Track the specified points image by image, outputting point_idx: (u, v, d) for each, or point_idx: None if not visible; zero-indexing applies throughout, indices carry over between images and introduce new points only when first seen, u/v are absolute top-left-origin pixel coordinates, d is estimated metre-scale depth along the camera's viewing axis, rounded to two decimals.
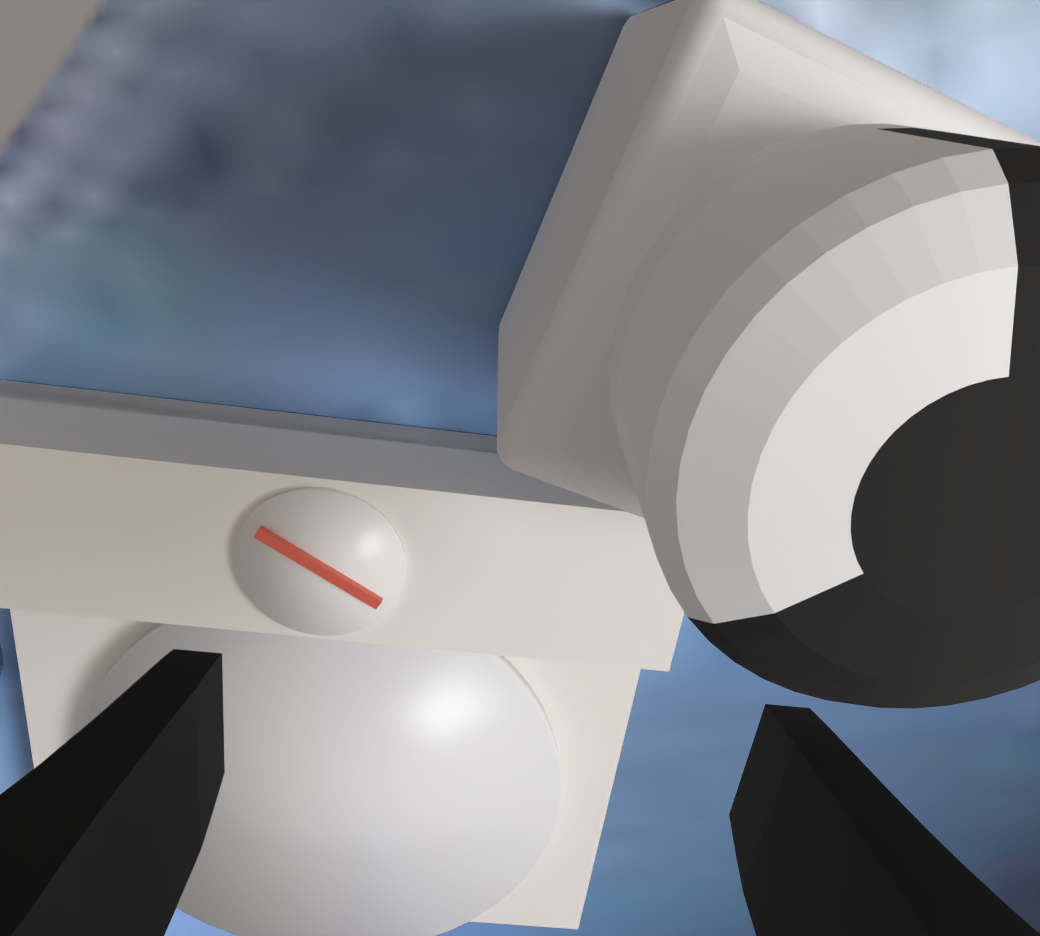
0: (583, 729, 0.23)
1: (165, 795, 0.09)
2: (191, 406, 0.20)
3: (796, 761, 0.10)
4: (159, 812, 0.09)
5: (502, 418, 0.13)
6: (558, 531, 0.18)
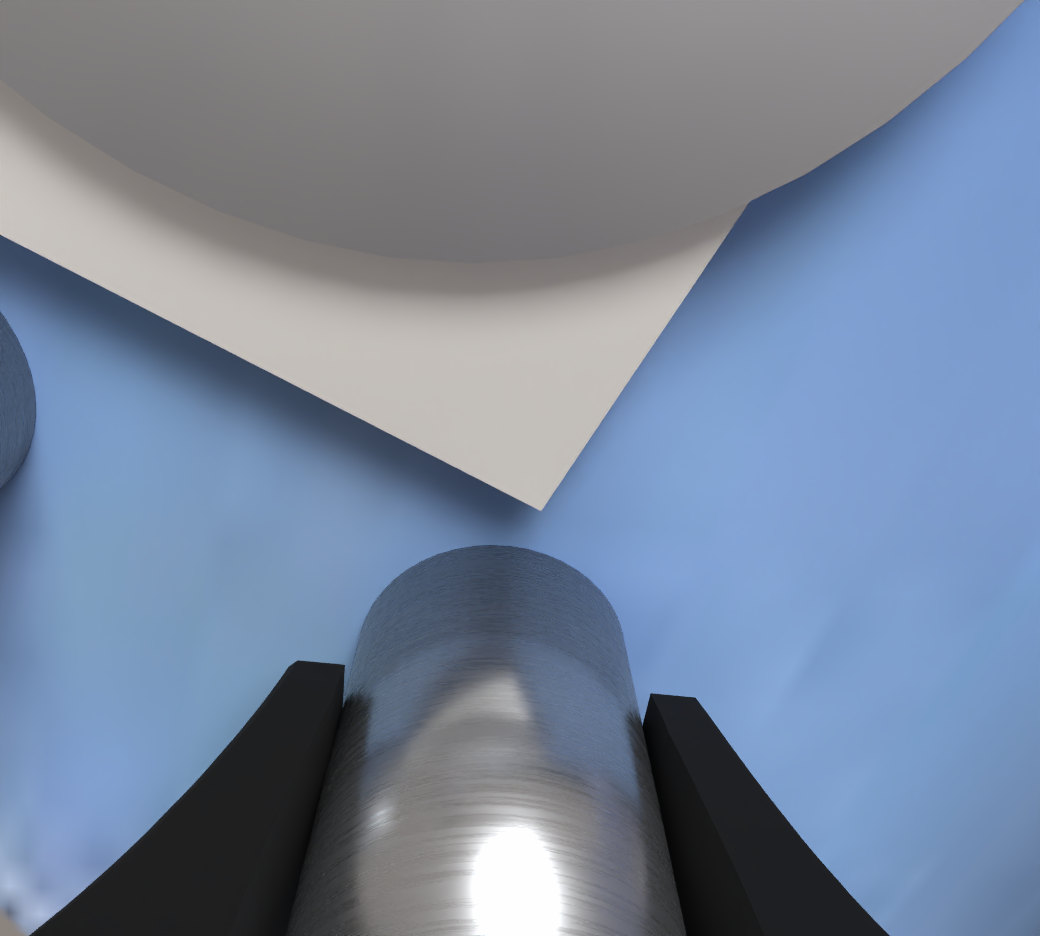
0: None
1: (308, 806, 0.09)
2: None
3: (669, 750, 0.10)
4: (303, 823, 0.09)
5: None
6: None
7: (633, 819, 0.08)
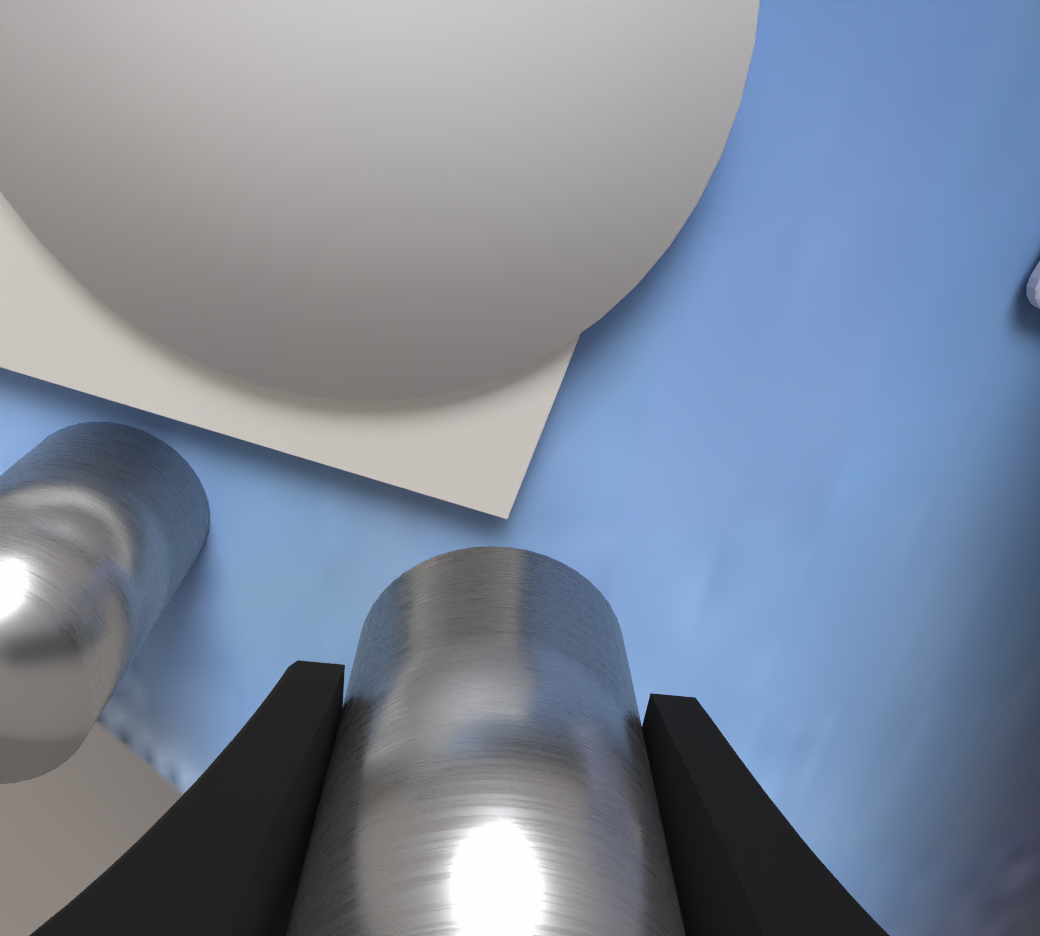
0: None
1: (308, 806, 0.09)
2: None
3: (669, 750, 0.10)
4: (303, 824, 0.09)
5: None
6: None
7: (632, 820, 0.08)
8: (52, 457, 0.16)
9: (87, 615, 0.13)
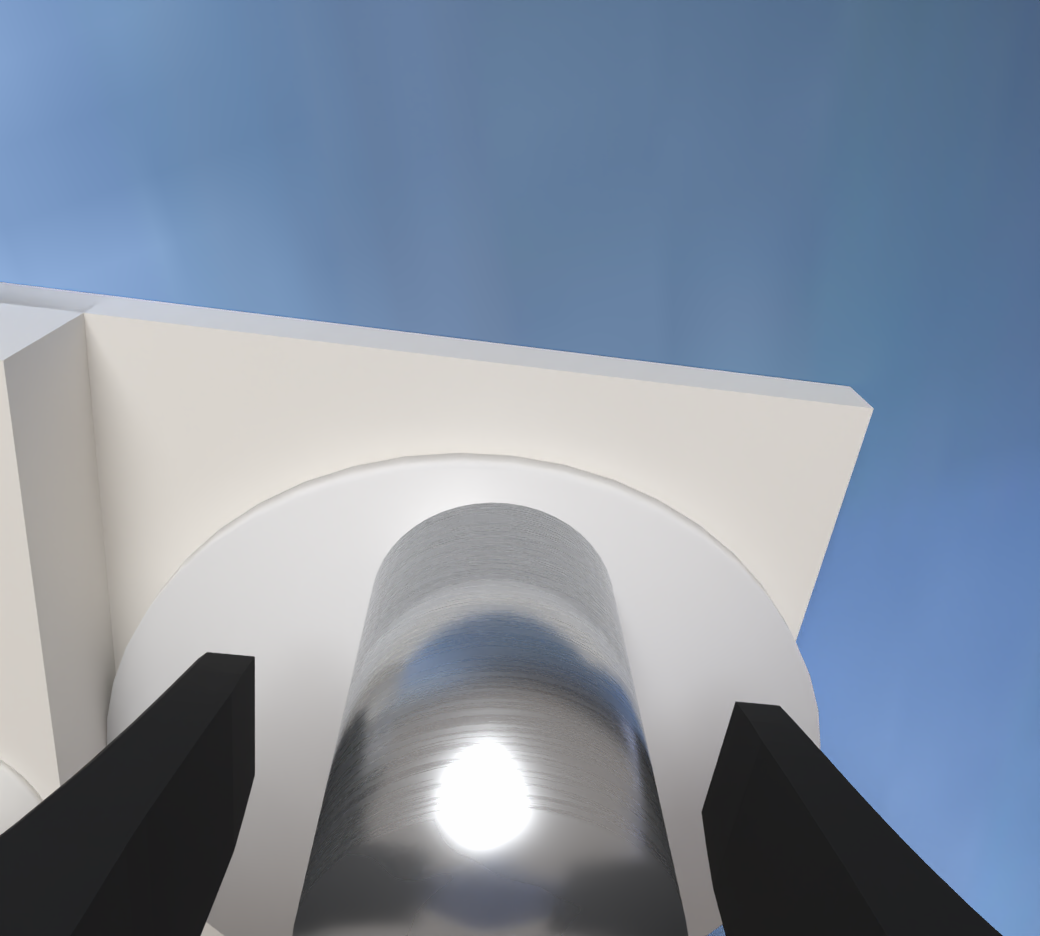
0: (349, 417, 0.13)
1: (203, 798, 0.09)
2: None
3: (763, 758, 0.10)
4: (198, 815, 0.09)
5: None
6: None
7: (618, 725, 0.10)
8: None
9: None
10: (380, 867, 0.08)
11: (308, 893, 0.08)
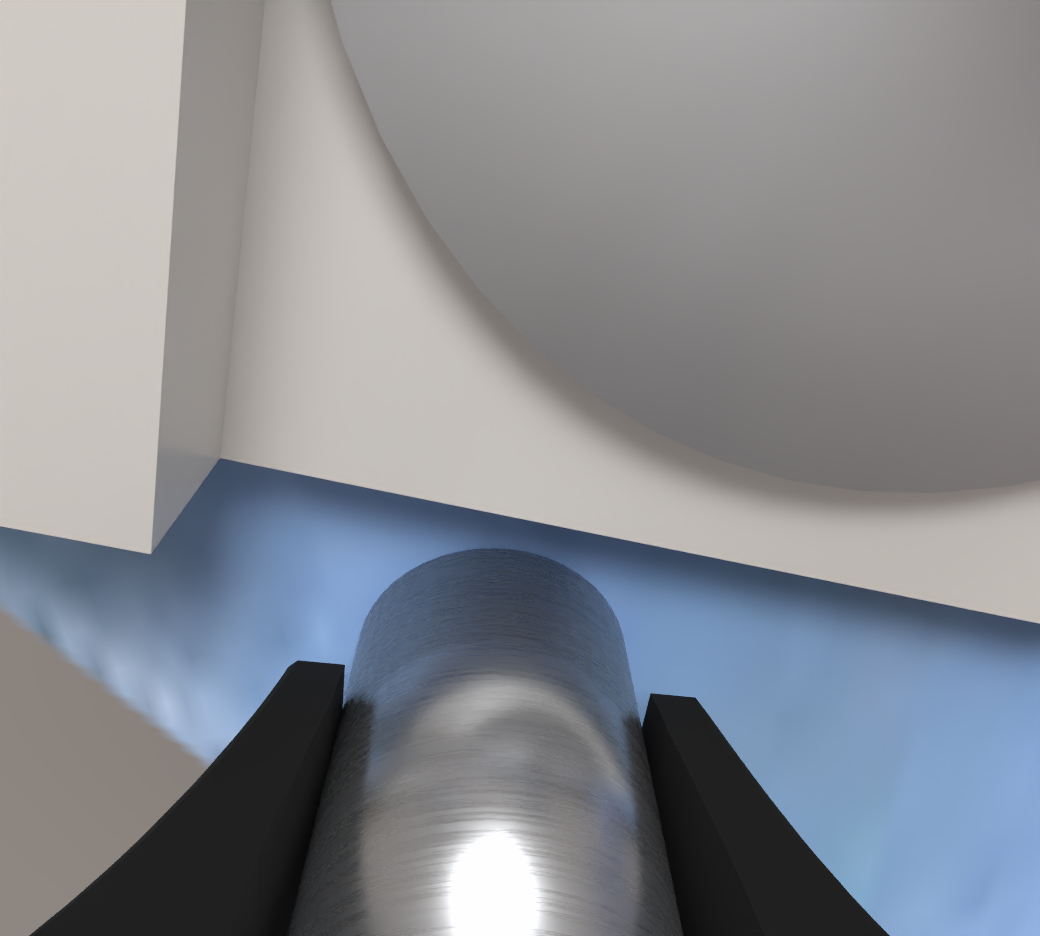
0: None
1: (308, 806, 0.09)
2: None
3: (669, 750, 0.10)
4: (303, 823, 0.09)
5: None
6: None
7: None
8: (471, 627, 0.10)
9: None
10: None
11: None
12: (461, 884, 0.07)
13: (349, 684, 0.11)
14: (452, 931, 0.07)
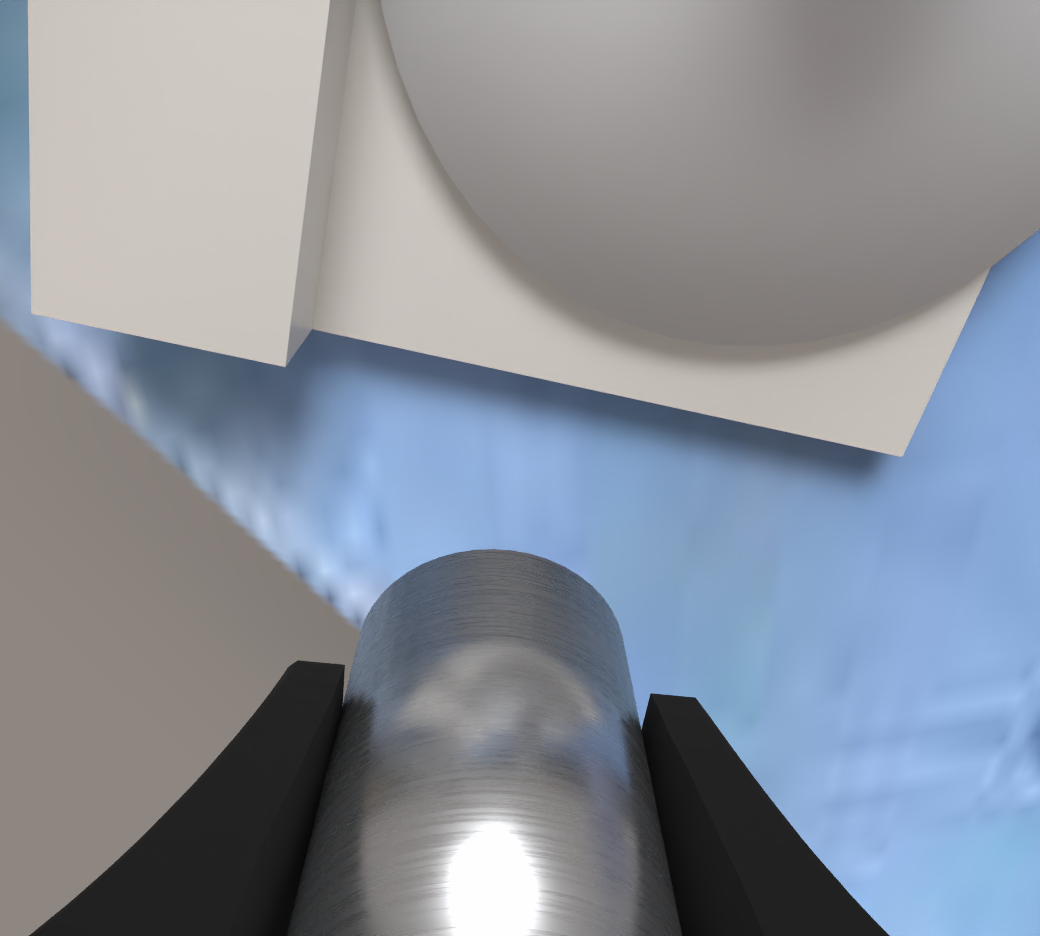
0: None
1: (307, 806, 0.09)
2: None
3: (669, 750, 0.10)
4: (303, 823, 0.09)
5: None
6: None
7: None
8: (470, 628, 0.10)
9: None
10: None
11: None
12: (461, 885, 0.07)
13: (348, 685, 0.11)
14: (452, 932, 0.07)
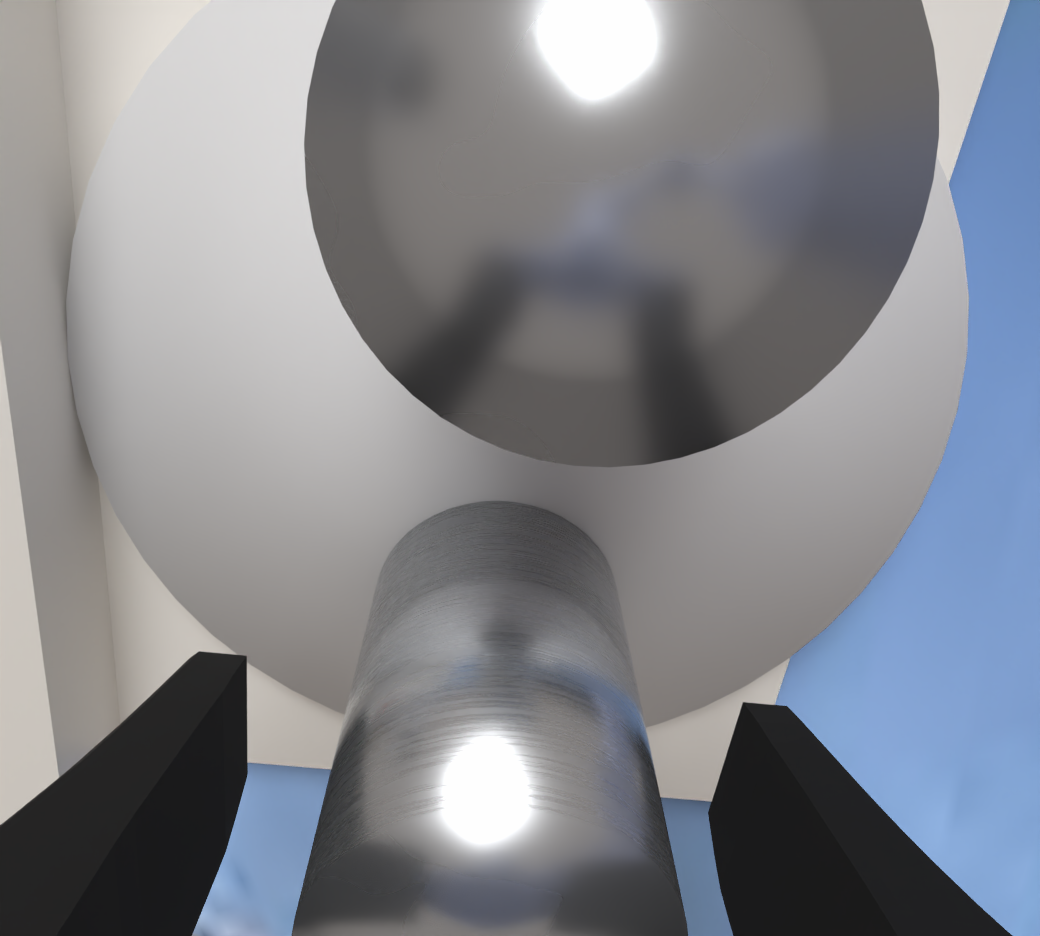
0: None
1: (194, 797, 0.09)
2: None
3: (771, 759, 0.10)
4: (188, 814, 0.09)
5: None
6: None
7: None
8: (478, 563, 0.12)
9: (661, 830, 0.09)
10: None
11: (331, 11, 0.05)
12: (472, 753, 0.08)
13: (369, 619, 0.12)
14: (465, 786, 0.08)
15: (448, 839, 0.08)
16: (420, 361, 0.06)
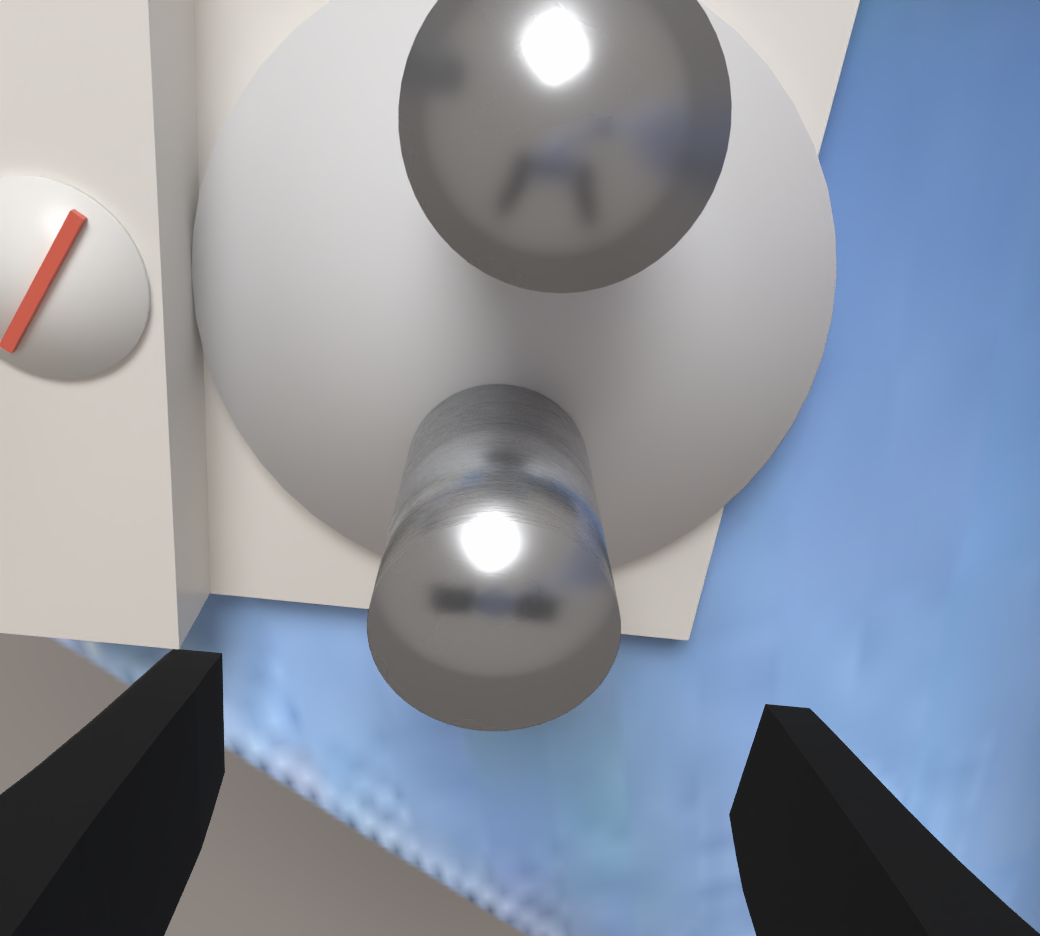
0: None
1: (165, 795, 0.09)
2: None
3: (796, 761, 0.10)
4: (159, 812, 0.09)
5: None
6: None
7: None
8: (484, 416, 0.16)
9: (604, 559, 0.14)
10: (476, 3, 0.10)
11: (415, 38, 0.10)
12: (482, 499, 0.13)
13: (406, 464, 0.17)
14: (477, 513, 0.13)
15: (467, 542, 0.13)
16: (457, 229, 0.11)
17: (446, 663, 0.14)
